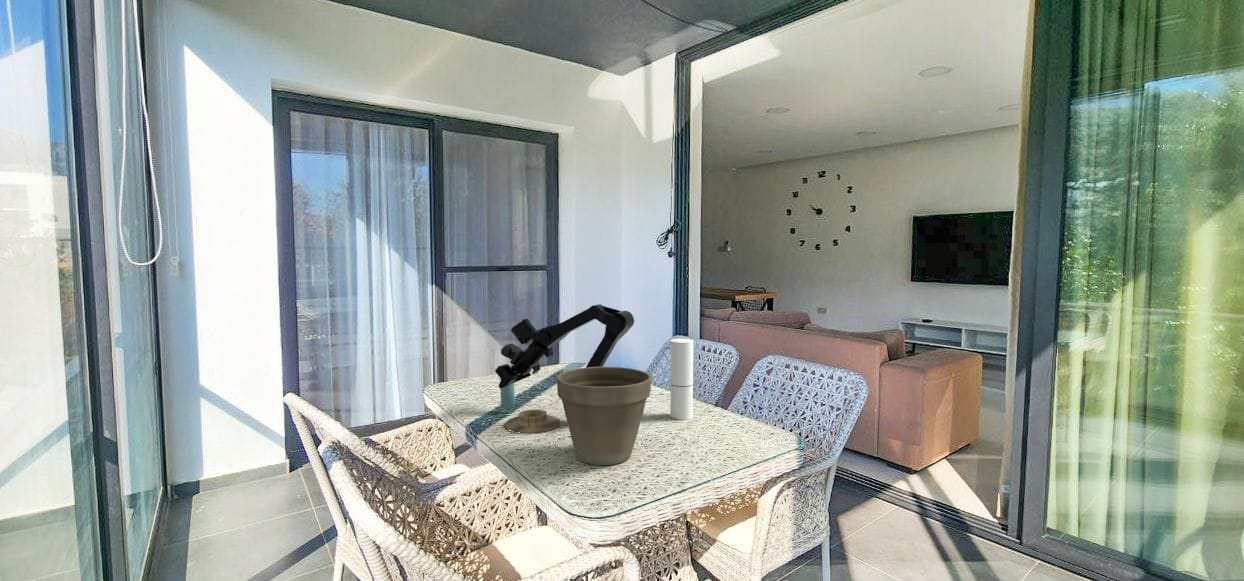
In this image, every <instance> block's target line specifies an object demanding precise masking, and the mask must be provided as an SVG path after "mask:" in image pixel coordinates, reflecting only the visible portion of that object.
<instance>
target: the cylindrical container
mask: <svg viewBox="0 0 1244 581" xmlns="http://www.w3.org/2000/svg"><path fill="white" fill-rule="evenodd" d="M693 399H694V340H693V339H689V338H673V339H671V340H670V416H669V417H670V418H671V417H672V418H671V419H673V418H674V419H673V420H676V419H678V421H688V419H689V420H691V419H693V411H694V408H693V407H694V406H693V404H694V400H693Z"/></svg>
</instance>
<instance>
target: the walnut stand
mask: <svg viewBox="0 0 1244 581" xmlns="http://www.w3.org/2000/svg"><path fill="white" fill-rule="evenodd" d="M560 426H561V420H560V419H559V418H558V417H556V416H553V415H550V414H549V415H548V414H547V411H546V410H543V409H537V408H536V409H527V410H526V409H525V410H522V411H519V413H518V416H515V417H512V418H510V419H508V420H507V421H506V422H504V427H506V428H507V429H508V430H507V429H506V428H505V429H506V430H507V431H509V430H511V431H514V432H520V433H519V434H521V433H536V434H541V432H544V433H547V431H548V432H552V431H554V430H556V429H558V428H559V427H560ZM557 427H558V428H557ZM511 431H510V432H511ZM514 432H513V433H514Z"/></svg>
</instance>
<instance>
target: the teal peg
mask: <svg viewBox="0 0 1244 581" xmlns="http://www.w3.org/2000/svg"><path fill="white" fill-rule="evenodd" d="M508 365H509V366H510V367H511V366H512V364H511V365H510V364H508ZM499 378H500V377H499ZM500 381H501V378H500V380H499V382H500ZM515 394H516V393H515V383H512V384H510V385H507V386H505V387H503V388H500V407H501V408H513V407H515V406H516V402H515V401H516V400H515V399H516V398H515Z"/></svg>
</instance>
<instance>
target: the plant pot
mask: <svg viewBox="0 0 1244 581" xmlns="http://www.w3.org/2000/svg"><path fill="white" fill-rule="evenodd" d="M556 390H557V396H558V397H559V398H560V399H561V403H562V406H563V407H562V408H563V411H564V414H565V419H566V422H567V426H568V429H569V434H570V437H571V441H572V445H573V448H574V453H575V456H576V458H577V459H578V460H579V461H581V462H583V463H586V464H589V465H593V466H594V465H595V466H609V465H610V466H611V465H612V466H613V465H618V464H622V463H624V462H627V461H628V460H629V459H630V458H631V456H632V454H633V450H634V447H635V443H636V440H637V436H638V433H639V429H640V426H641V421H642V418H643V414H644V410H645V407H646V402H647V399H648V398H650V395H651V391H652V375H651V374H649V373H648V372H645V371H643V370H639V369H635V368H629V367H622V366H621V367H620V366H603V367H587V368H586V367H580V368H574V369H569V370H566V371H563V372H561V373H559V374H558V375H557V376H556Z"/></svg>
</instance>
